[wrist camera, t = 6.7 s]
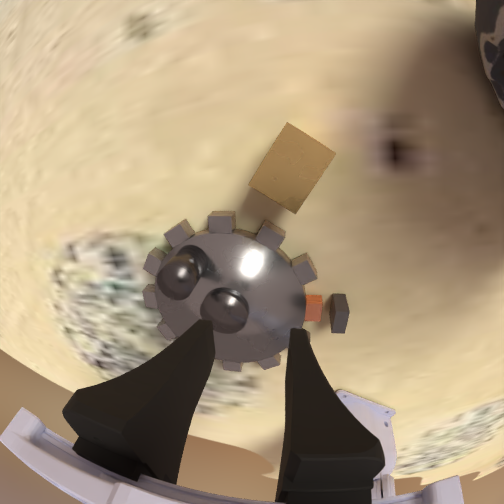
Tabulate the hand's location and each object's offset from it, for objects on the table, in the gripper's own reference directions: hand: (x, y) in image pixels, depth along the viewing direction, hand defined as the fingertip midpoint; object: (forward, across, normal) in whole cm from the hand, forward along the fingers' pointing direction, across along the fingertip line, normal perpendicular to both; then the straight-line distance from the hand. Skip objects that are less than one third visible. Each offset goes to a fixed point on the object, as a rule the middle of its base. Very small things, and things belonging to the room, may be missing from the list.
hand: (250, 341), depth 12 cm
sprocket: (+9, +3, +4) cm, 11 cm away
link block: (+10, -1, -7) cm, 12 cm away
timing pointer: (+9, -6, +4) cm, 12 cm away
